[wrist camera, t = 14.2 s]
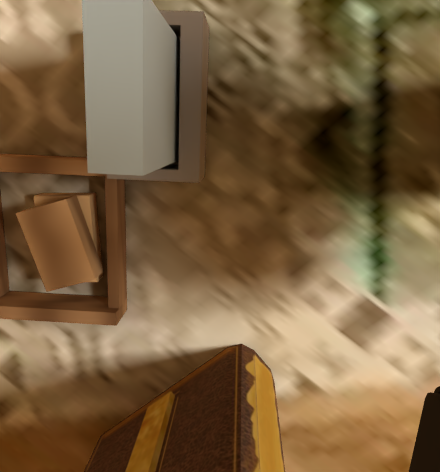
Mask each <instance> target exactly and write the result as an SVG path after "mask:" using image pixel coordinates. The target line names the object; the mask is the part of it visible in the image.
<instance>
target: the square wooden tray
mask: <svg viewBox="0 0 440 472" xmlns="http://www.w3.org/2000/svg"><path fill="white" fill-rule="evenodd" d="M0 172H21V173H43V174H66V175H88V176H105V204H106V240H107V275H108V297H104V296H87V295H70V294H53V293H35V292H18V291H9V281H8V269H7V258H6V247H5V236H4V225H3V214H2V202H1V191H0V318H2V319H18V320H35V321H51V322H67V323H84V324H100V325H117V324H118V322H119V321H120V319H121V318H122V316H123V315H124V313H125V312H126V310H127V281H126V221H125V179H107V174H97V173H88V167H87V157H67V156H44V155H21V154H0Z"/></svg>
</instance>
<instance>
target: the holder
mask: <svg viewBox="0 0 440 472" xmlns="http://www.w3.org/2000/svg"><path fill="white" fill-rule="evenodd" d="M159 12H160V13H161V14H162V16H163V17H164V19H165V20H166V22H167V23H168V24H169V26H170V27H171V29H172V30H173V32H174V33H175V34H176V36H177V37H178V39H179V40H180V107H179V160H178V161H176V162H174V163H171V164H169V165H167V166H164V167H162V168H160V169H158V170H155V171H153V172H151V173H148V174H146V175H144V176H137V175H117V174H107V179H126V180H148V181H170V182H192V183H199V182H200V181H201V180H202V179H203V178H204V177H205V155H206V122H207V88H208V55H209V26H208V23H207V20H206V17H205V14H204V12H198V11H161V10H159Z"/></svg>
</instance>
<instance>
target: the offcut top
mask: <svg viewBox="0 0 440 472" xmlns="http://www.w3.org/2000/svg"><path fill="white" fill-rule="evenodd" d="M16 216H17V218H18V221H19V223H20V226H21V228H22V231H23V233H24V236H25V238H26V241H27V244H28V246H29V249H30V251H31V254H32V256H33V259H34V261H35V264H36V266H37V269H38V271H39V274H40V276H41V279H42V281H43V284H44V286H45V289H46V291H47V292H48V291H51V290H55V289H59V288H63V287H67V286H71V285H75V284H79V283H83V282H87V281H91V280H95V279H96V278H97V277H98V276H99V275H100V274H101V273H102V272H103V271H104V270H103V267H102V264H101V262H100V259H99V256H98V253H97V251H96V248H95V245H94V242H93V239H92V237H91V234H90V231H89V228H88V226H87V223H86V220H85V217H84V214H83V212H82V209H81V206H80V203H79V201H78V198H77V195H75V196H71V197H68V198H64V199H61V200H57V201H54V202H50V203H47V204H43V205H40V206H36V207H32V208H29V209H26V210H23V211H21V212H18V213H16Z"/></svg>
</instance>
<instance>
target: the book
mask: <svg viewBox="0 0 440 472" xmlns="http://www.w3.org/2000/svg"><path fill="white" fill-rule="evenodd" d="M84 472H285V467H284V459H283V450H282V442H281V434H280V426H279V417H278V409H277V401H276V393H275V385H274V380H273V376H272V373H271V370H270V368H269V367H268V366H267V365H266V364H265V363H264V361H263V360H262V359H261V358H260V357H259V356H258V354H257V353H256V352H255V351H254V350H252V349H250V348H249V347H247V346H245V345H243V344H239V345H235V346H231V347H228V348H226V349H225V350H223V351H222V352H220V353H219V354H218V355H216V356H215V357H213V358H212V359H210V360H209V361H207V362H206V363H205V364H203V365H202V366H200V367H199V368H197V369H196V370H195V371H193V372H192V373H190V374H189V375H187V376H186V377H185V378H183V379H182V380H180V381H179V382H177V383H176V384H175V385H173V386H172V387H170V388H169V389H167V390H166V391H165V392H163V393H162V394H160V395H159V396H157V397H156V398H154V399H153V400H152V401H150V402H149V403H147V404H146V405H144V406H143V407H142V408H140V409H139V410H137V411H136V412H134V413H133V414H132V415H130V416H129V417H127V418H126V419H124V420H123V421H122V422H120V423H119V424H117V425H116V426H114V427H113V428H111V429H110V430H109V431H107V432H106V433H104V434H103V435H101V437H100V439H99V441H98V443H97V445H96V447H95V449H94V451H93V454H92V456H91V458H90V460H89V462H88V464H87V466H86V468H85V471H84Z"/></svg>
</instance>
